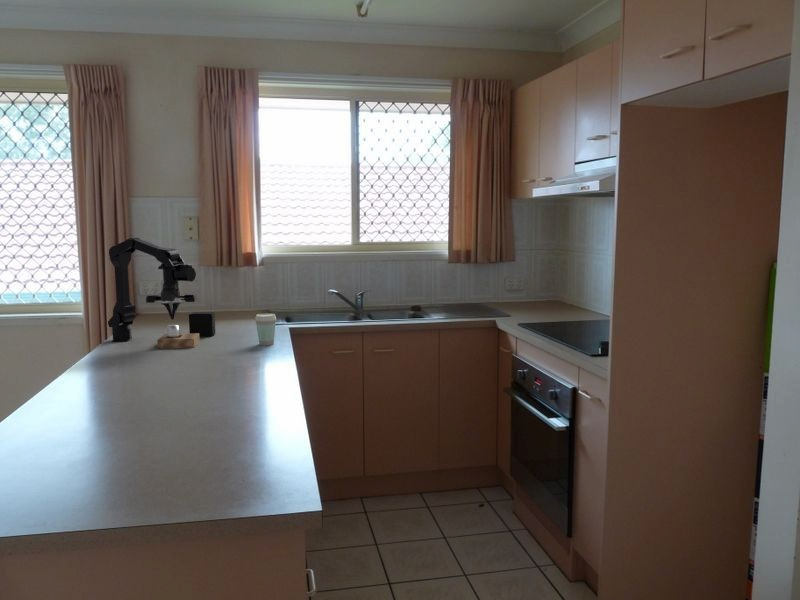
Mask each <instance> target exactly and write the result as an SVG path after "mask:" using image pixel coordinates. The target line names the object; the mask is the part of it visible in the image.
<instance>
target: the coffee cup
mask: <svg viewBox="0 0 800 600" xmlns="http://www.w3.org/2000/svg"><path fill="white" fill-rule="evenodd" d="M254 321H255V324H256V332H257V339H258V345H260V346H263V347H264V346H273V345H274V344H275V335H276V334H275V333H276V325H277V323H276V322H277V317H276V314H275V313H258V314H256V315H255V318H254Z"/></svg>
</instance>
